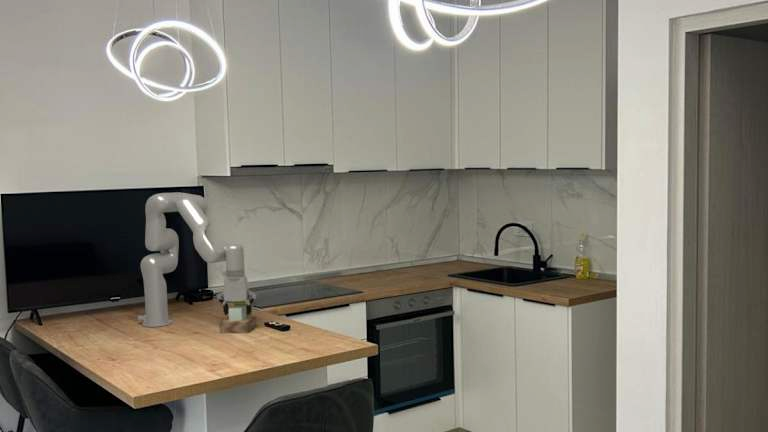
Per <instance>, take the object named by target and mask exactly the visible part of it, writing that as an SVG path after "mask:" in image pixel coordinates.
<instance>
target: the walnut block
mask: <svg viewBox="0 0 768 432" xmlns="http://www.w3.org/2000/svg"><path fill="white" fill-rule="evenodd" d="M218 327H219V334H248V333H250V332H252V331H253V330H255V329H256V328H257V316H252V317H246V319H244V320H242V321H229V316H228V317H226V318H224V319H223V320H221V321H220V322H219V326H218Z"/></svg>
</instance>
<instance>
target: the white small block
mask: <svg viewBox="0 0 768 432" xmlns="http://www.w3.org/2000/svg"><path fill="white" fill-rule="evenodd" d="M228 310H229V313H228V317H229V321H242V320H244V319H246V307H235V306H231V307H230V308H228Z"/></svg>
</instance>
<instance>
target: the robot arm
mask: <svg viewBox="0 0 768 432" xmlns="http://www.w3.org/2000/svg"><path fill="white" fill-rule="evenodd" d="M207 210H208V203H207V200H206V198H205V197H203V196H202V195H197V194H191V193H187V192H178V191H176V192H161V193H155V194H152V196H150V197H148V199H147V200H146V203H145V212H144V213H145V235H144V237H145V239H144V245H145V248H146V250H148V251H150V252H159V253H151V254H148V255H146V256H144V257H143V258H142V259H141V262H140V271H141V275H142V279H143V288H144V289H143V290H144V291H143V292H144V305H145V306H144V307H145V308H144V310H145V314H144V315H138V316H137V320H138V321H143V322H142V327H146V328H157V327H158V328H159V327H164V326H169V325H171V324H172V323H173V320H172V319H169V307H168V306H169V304H168V293H167V292H168V290H167V289H168V287H167V282H166V279H165V278H164V274H169V273H171V272H174V271H175V270H176V268H177V266H178V263H179V249H180V248H179V247H180V245H179V244H180V243H179V242H180V241H179V236H178V234H177V232H176V231H175V230H174V229H173V228H167V220H166V216H165V214H164V213H173V212H175V213H176V212H178V213H179V214H180V215H181V217H182V219H183V220H184V221H185V223H186V224H187V226H188V227H189V229H190V230H191V232H192V234H193V235H192V241H193V246H194V248H195V250H196V251H197V253H198V255H199V256H200V257H201V258H202V259H203V261H204V262H206V263H208V264H216V263H221V262H225V266H226V268H225V269H226V270H224V271H223V273H222V274H223V275H225V277H224V280H223V291H221V292H219V293H218V294H216V298H217V300H218V302H219V303H220V304H221V305H222V307H223V314H224V315H225V316H227V315H229V304H228V303H229V302H234V301H245V302H246V303H247V306H246V310H247V315H249V314H250V313H251V304H252V303H253V304H254V303H255V301H256V298H257V296H258V294H257V292H254V291H251V290H250V288H249V282H248V277H247V276H246V273H245V268H246V267H245V252H244V250H245V249H244V246H243V245H242V244H237V243H236V244H235V243H234V244H230V243H217V244H212V243H211V242H210V240H209V239H208V238H207V234H206V231H207V230H208V229H209V227H210V225H211V220H210V219H209V218H208V216H207V215H206V214H205V213H206V212H207ZM250 296H252V297H251V299H250Z"/></svg>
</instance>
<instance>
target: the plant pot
mask: <svg viewBox="0 0 768 432" xmlns="http://www.w3.org/2000/svg"><path fill="white" fill-rule="evenodd" d="M232 304H233V307H246V306H247V303H246V302H245V301H232ZM253 306H254V302H253V303H252V304H251V313H250V314H249V315H247V310H246V317H253V315H252V314H253Z"/></svg>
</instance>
